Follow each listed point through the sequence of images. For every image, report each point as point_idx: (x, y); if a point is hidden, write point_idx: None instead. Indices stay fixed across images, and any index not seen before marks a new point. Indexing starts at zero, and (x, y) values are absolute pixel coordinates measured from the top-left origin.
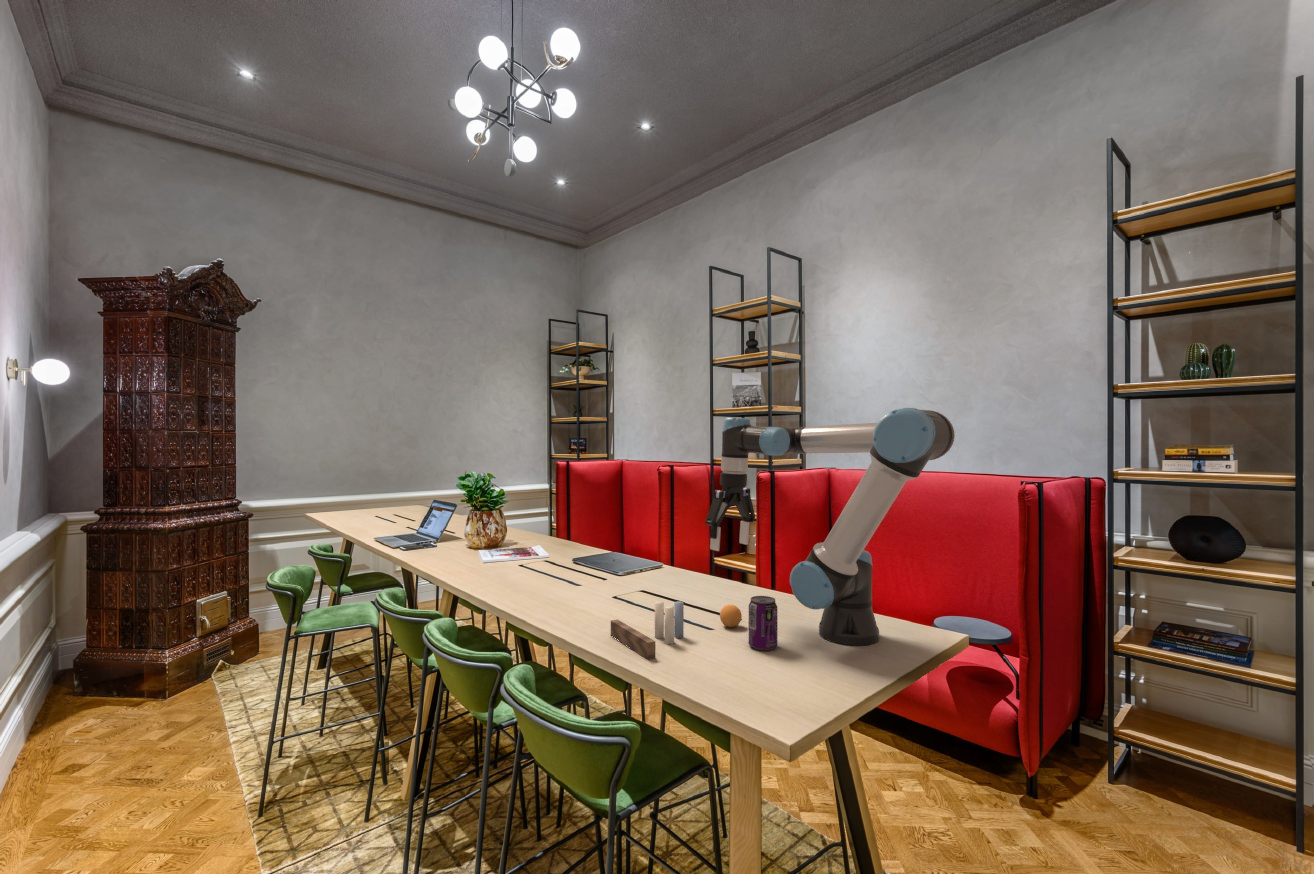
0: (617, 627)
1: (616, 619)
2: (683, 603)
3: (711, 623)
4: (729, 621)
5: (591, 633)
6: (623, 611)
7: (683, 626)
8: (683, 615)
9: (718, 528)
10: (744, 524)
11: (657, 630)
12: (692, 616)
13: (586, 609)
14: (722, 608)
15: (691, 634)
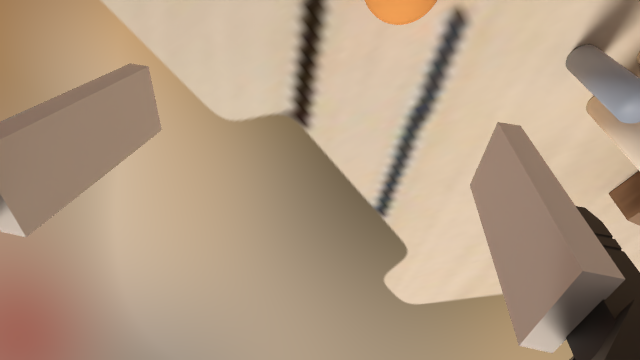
0: None
1: (630, 221)
2: (635, 90)
3: (402, 47)
4: None
5: (616, 235)
6: (424, 249)
7: (595, 57)
8: (613, 71)
9: (612, 271)
10: (30, 176)
11: None
12: (372, 122)
13: (449, 296)
14: (415, 15)
15: (540, 40)
